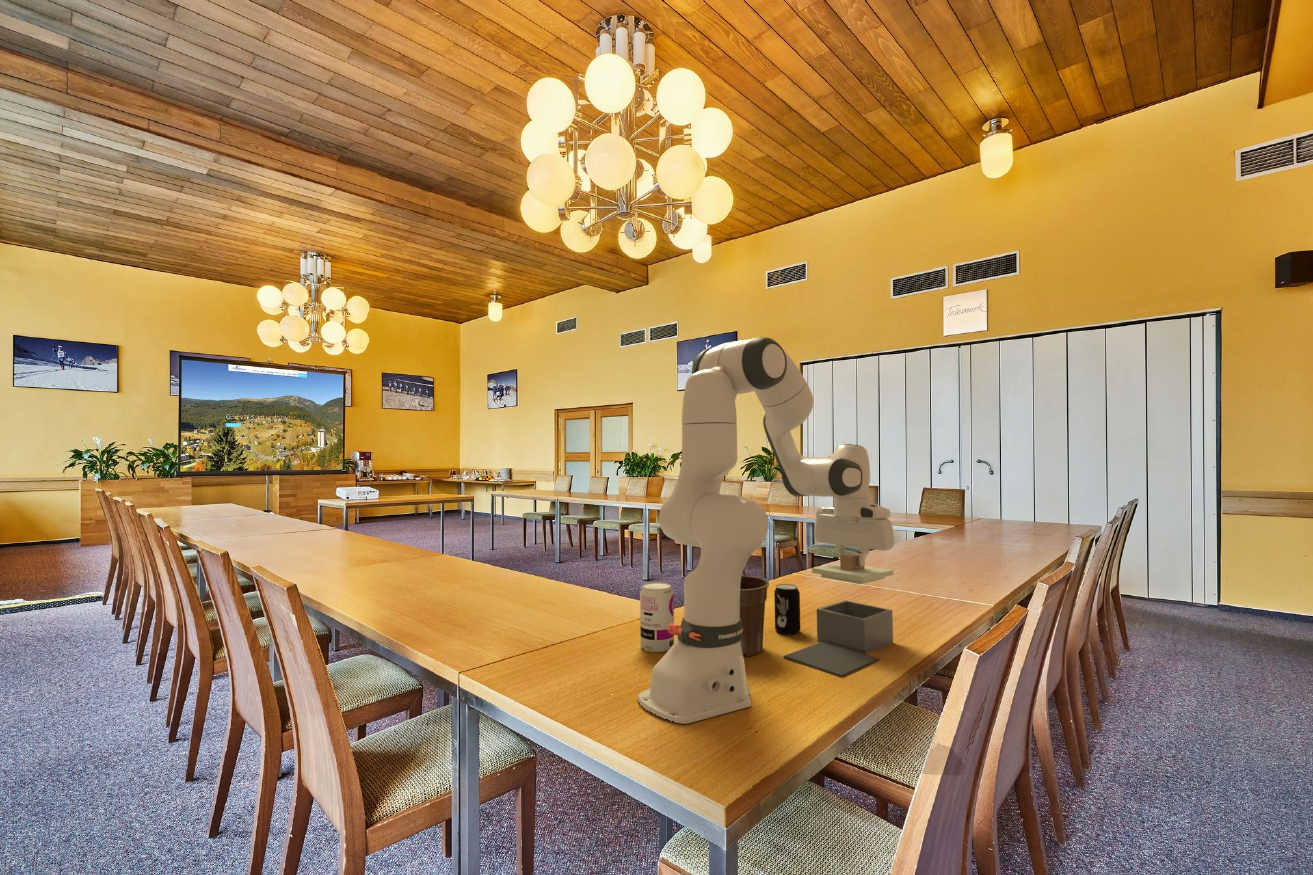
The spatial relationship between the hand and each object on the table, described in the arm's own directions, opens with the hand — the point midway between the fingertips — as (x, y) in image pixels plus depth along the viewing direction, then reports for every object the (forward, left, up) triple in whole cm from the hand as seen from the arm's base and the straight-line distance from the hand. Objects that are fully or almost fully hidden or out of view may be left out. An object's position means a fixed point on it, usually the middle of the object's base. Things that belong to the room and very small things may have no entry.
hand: (852, 564), depth 140 cm
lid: (0, 0, -3) cm, 3 cm away
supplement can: (-40, +29, -19) cm, 53 cm away
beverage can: (-6, +16, -19) cm, 26 cm away
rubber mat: (-15, -3, -19) cm, 24 cm away
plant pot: (-26, +16, -19) cm, 36 cm away
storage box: (0, 0, -19) cm, 19 cm away
